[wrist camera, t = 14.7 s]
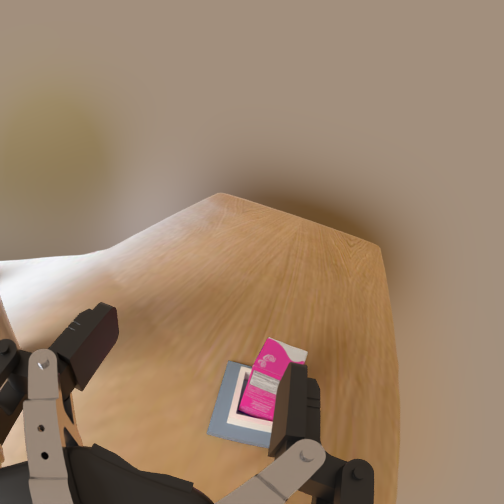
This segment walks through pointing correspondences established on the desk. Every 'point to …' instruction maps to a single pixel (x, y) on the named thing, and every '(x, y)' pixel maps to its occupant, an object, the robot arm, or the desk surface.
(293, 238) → the desk surface
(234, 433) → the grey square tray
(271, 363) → the supplement box
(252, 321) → the desk surface
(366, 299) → the desk surface
